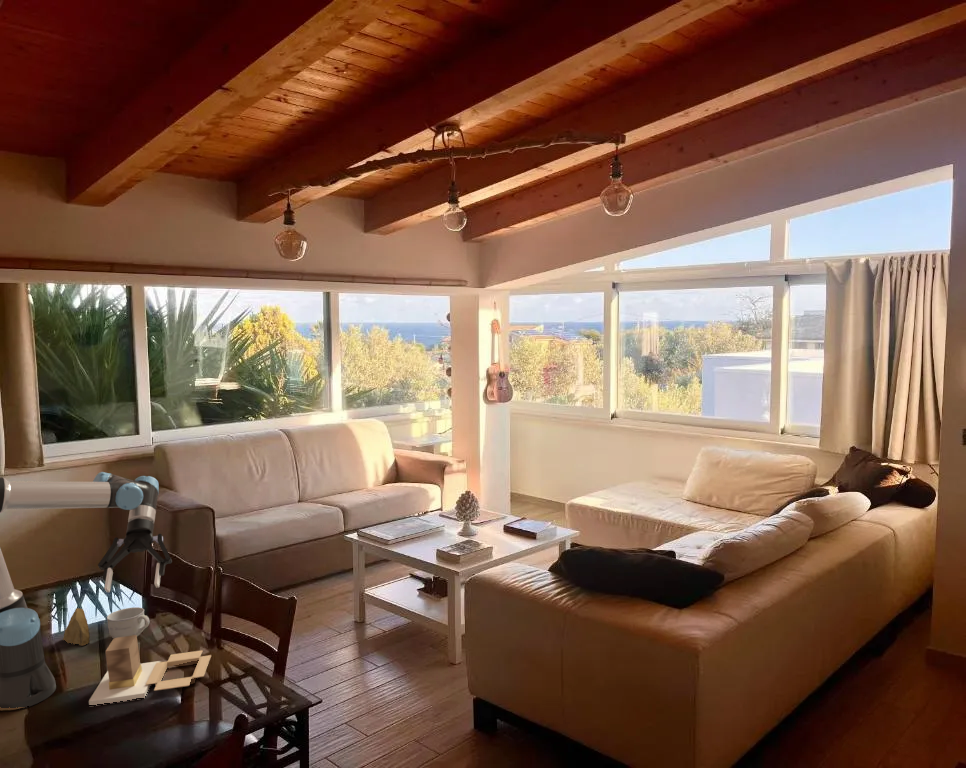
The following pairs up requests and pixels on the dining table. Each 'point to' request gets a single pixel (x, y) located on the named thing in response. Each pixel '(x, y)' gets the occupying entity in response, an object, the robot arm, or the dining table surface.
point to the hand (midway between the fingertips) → (132, 588)
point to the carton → (176, 660)
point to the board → (126, 693)
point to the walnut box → (123, 662)
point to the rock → (77, 629)
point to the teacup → (127, 622)
